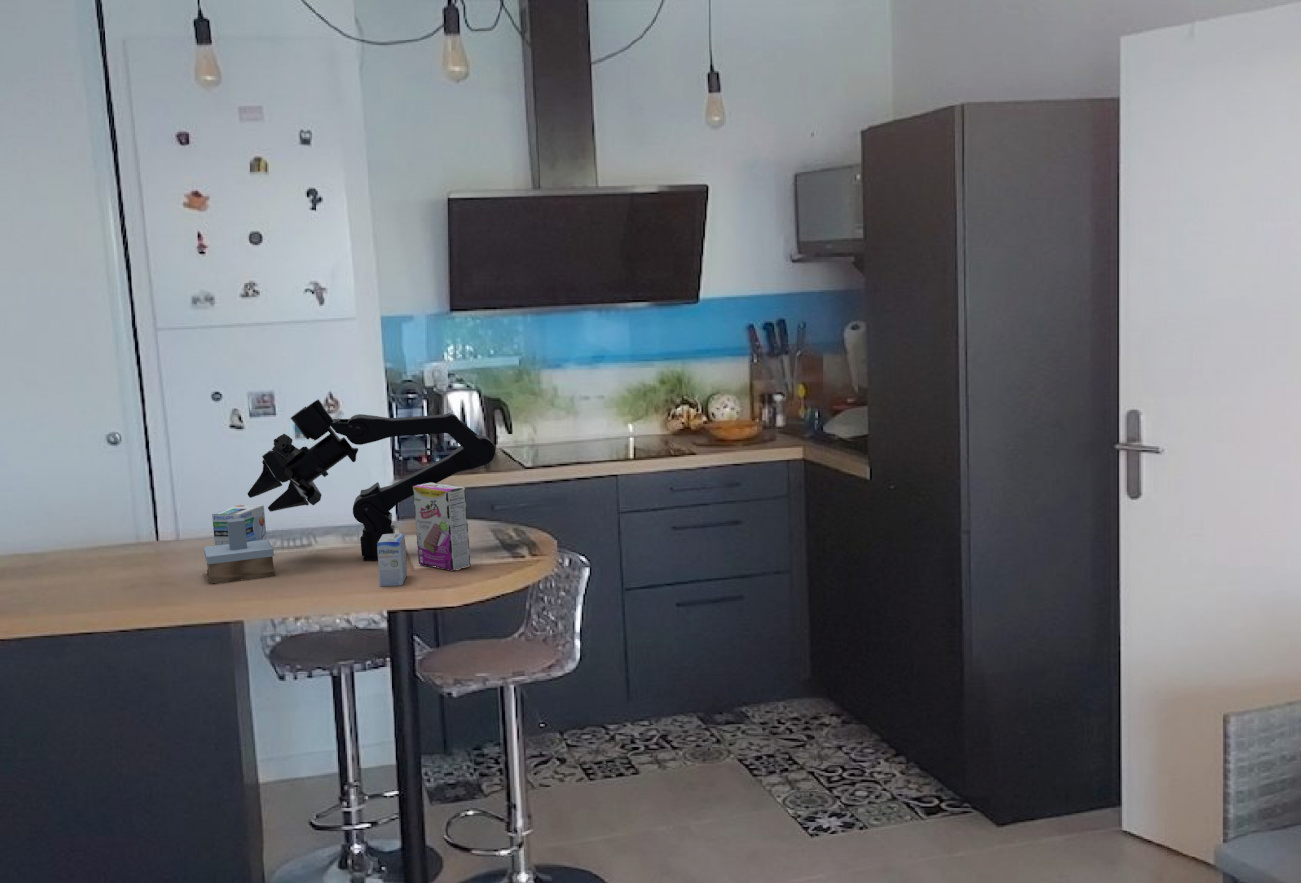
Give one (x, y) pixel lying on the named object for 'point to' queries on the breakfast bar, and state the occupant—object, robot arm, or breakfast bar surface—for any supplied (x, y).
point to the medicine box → (392, 559)
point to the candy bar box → (441, 525)
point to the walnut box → (240, 570)
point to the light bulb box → (252, 523)
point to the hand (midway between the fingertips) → (258, 502)
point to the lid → (238, 546)
